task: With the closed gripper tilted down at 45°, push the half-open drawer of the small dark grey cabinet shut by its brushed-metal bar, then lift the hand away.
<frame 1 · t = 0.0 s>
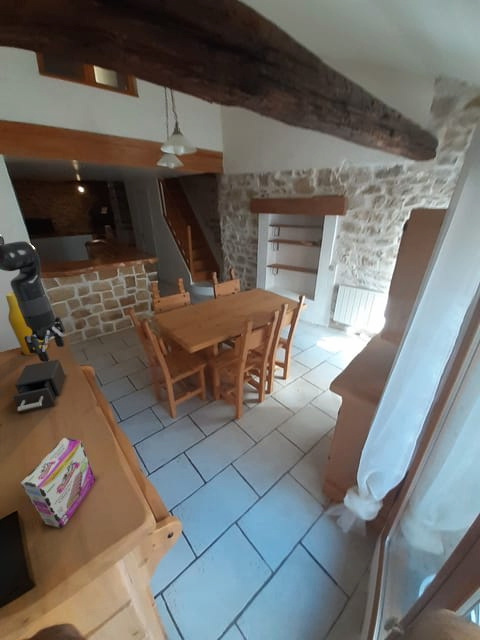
hand: (53, 353, 85), 19 cm above the counter, tool pointing down, fingers open, 8 cm apart
dark grey cabinet: (47, 391, 96), on the counter
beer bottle: (36, 351, 119), on the counter
drawer: (37, 395, 87), point 5 cm above the counter, slide at 4.0 cm
candy bar box: (74, 502, 62), on the counter
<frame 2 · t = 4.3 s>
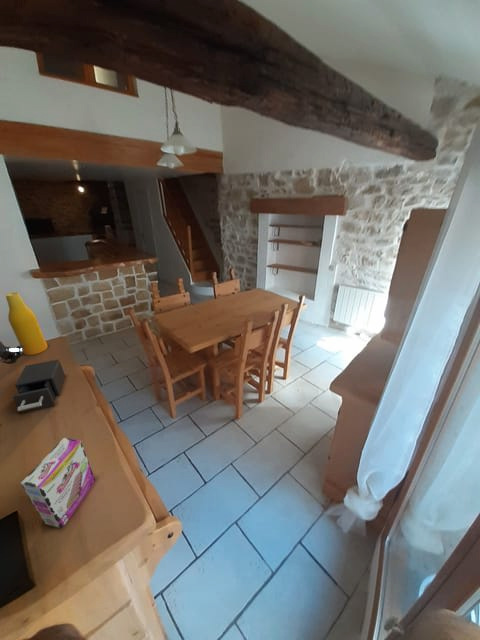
hand: (12, 360, 77), 22 cm above the counter, tool tilted 45°, fingers closed
nothing on the counter moved.
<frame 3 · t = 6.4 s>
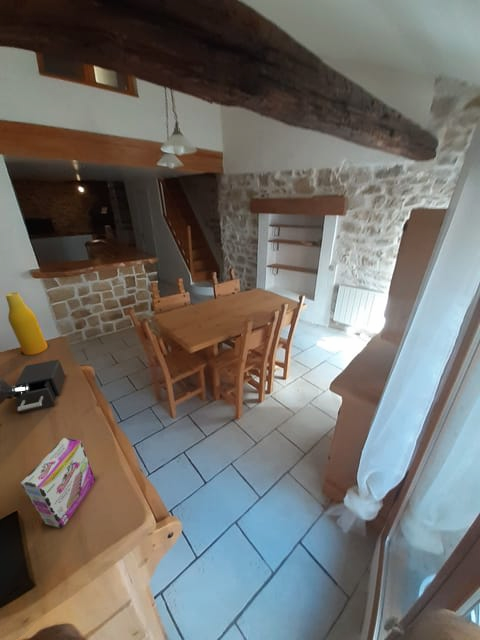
hand: (17, 396, 75), 14 cm above the counter, tool tilted 45°, fingers closed
nothing on the counter moved.
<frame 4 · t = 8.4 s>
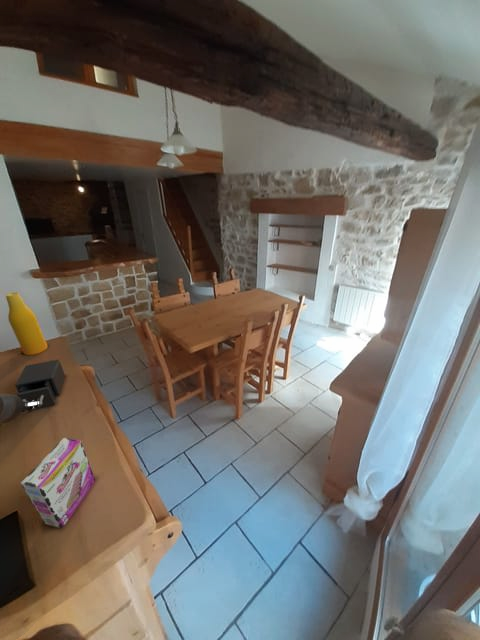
hand: (29, 408, 80), 6 cm above the counter, tool tilted 45°, fingers closed
drawer: (37, 394, 87), point 5 cm above the counter, slide at 3.5 cm, touching gripper
everything else where it was.
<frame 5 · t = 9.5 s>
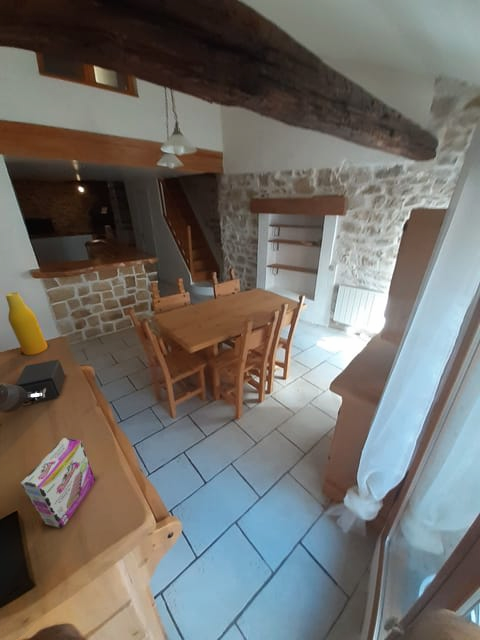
hand: (32, 401, 83), 6 cm above the counter, tool tilted 45°, fingers closed
drawer: (40, 388, 90), point 5 cm above the counter, slide at 0.0 cm, touching dark grey cabinet, gripper
everything else where it was.
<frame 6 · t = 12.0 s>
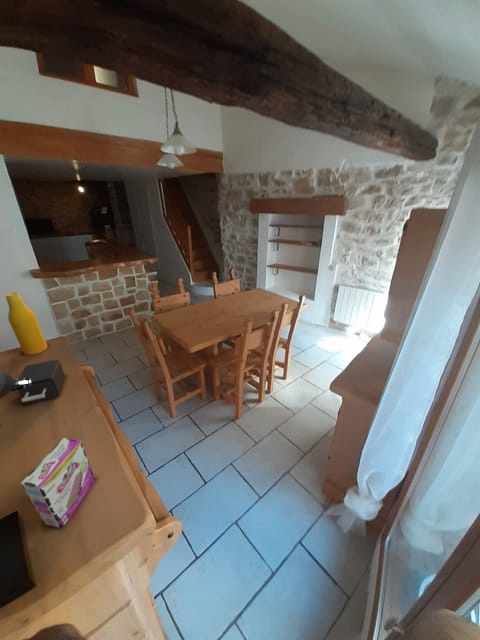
hand: (20, 389, 78), 13 cm above the counter, tool tilted 45°, fingers closed
drawer: (40, 388, 90), point 5 cm above the counter, slide at 0.0 cm, touching dark grey cabinet
everything else where it was.
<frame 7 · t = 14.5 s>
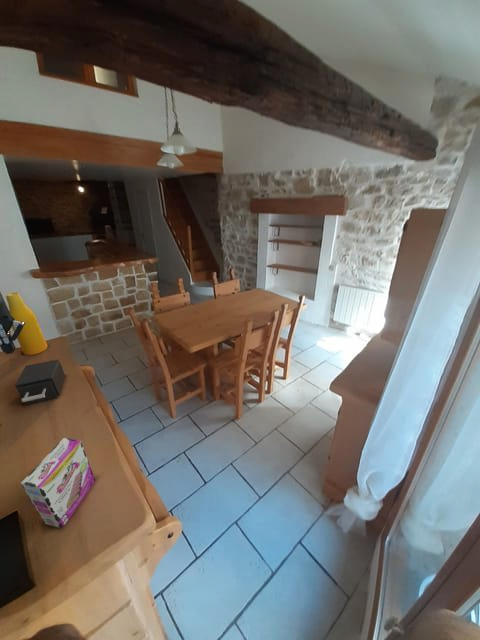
hand: (10, 352, 79), 23 cm above the counter, tool pointing down, fingers closed
nothing on the counter moved.
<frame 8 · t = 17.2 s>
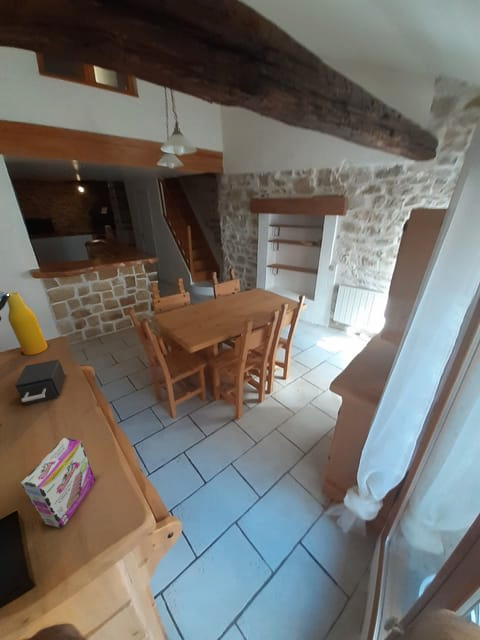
nothing on the counter moved.
at the end: drawer slide at 0.0 cm; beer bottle moved 0.2 cm from its start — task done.
